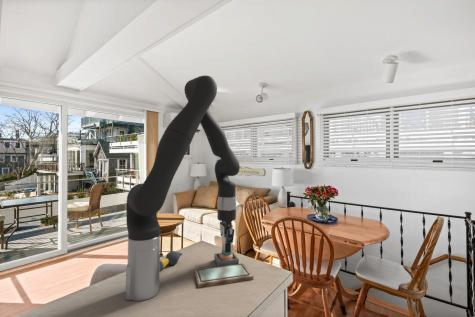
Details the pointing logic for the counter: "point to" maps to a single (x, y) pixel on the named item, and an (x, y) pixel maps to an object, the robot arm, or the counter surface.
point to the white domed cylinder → (224, 247)
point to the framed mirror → (222, 275)
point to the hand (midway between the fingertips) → (226, 250)
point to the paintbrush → (170, 259)
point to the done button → (225, 257)
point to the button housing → (225, 262)
